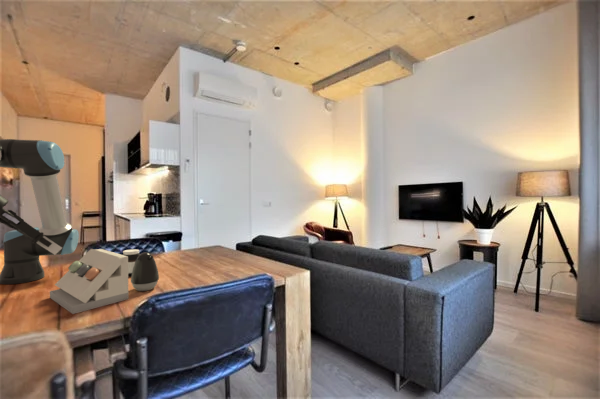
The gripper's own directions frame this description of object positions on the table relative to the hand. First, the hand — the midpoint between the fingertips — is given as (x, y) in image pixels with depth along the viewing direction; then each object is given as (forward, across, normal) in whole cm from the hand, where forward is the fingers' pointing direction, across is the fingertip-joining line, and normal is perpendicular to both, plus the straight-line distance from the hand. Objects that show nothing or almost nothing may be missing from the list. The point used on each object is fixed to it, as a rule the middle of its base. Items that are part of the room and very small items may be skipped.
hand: (58, 251), depth 95 cm
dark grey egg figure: (+35, -2, +6) cm, 36 cm away
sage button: (+15, -17, -2) cm, 23 cm away
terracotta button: (+15, 0, -2) cm, 15 cm away
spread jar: (+39, -32, +9) cm, 51 cm away
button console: (+23, -8, -6) cm, 25 cm away
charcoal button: (+15, -9, -2) cm, 18 cm away
